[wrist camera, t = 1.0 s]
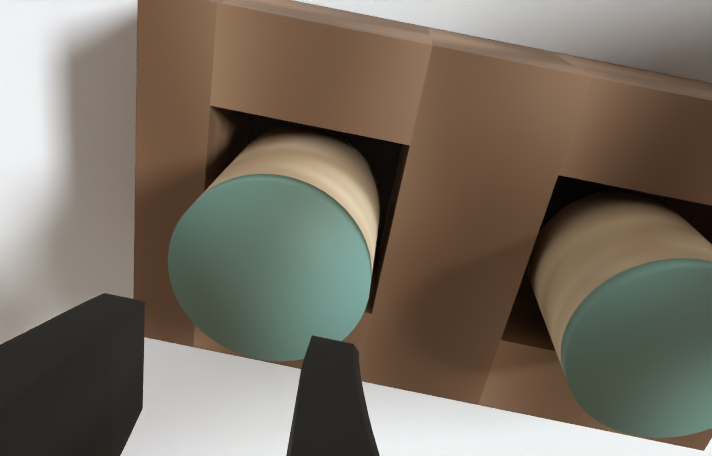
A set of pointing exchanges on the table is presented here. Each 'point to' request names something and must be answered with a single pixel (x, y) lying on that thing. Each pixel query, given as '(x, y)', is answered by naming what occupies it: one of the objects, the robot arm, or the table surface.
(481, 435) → the table surface
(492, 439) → the table surface
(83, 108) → the table surface
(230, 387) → the table surface
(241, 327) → the peg
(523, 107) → the walnut block
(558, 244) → the peg
